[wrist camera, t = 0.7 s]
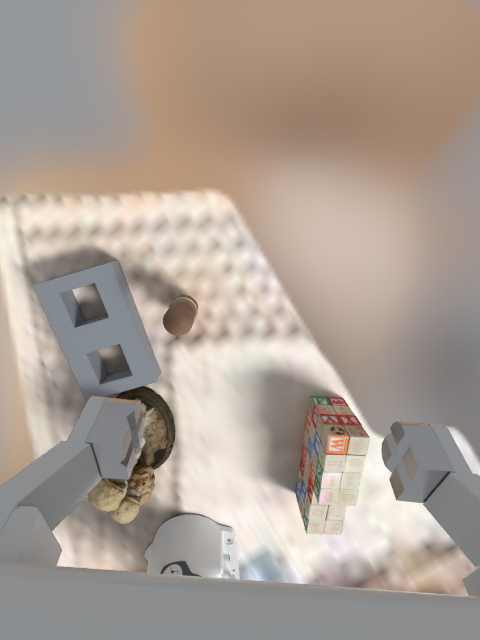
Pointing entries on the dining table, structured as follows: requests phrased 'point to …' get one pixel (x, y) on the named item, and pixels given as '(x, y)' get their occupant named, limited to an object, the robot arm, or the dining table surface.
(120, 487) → the beige rough lumpy piece
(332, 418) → the stack of blocks
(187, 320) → the walnut peg
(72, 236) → the dining table surface
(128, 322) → the two-hole board
